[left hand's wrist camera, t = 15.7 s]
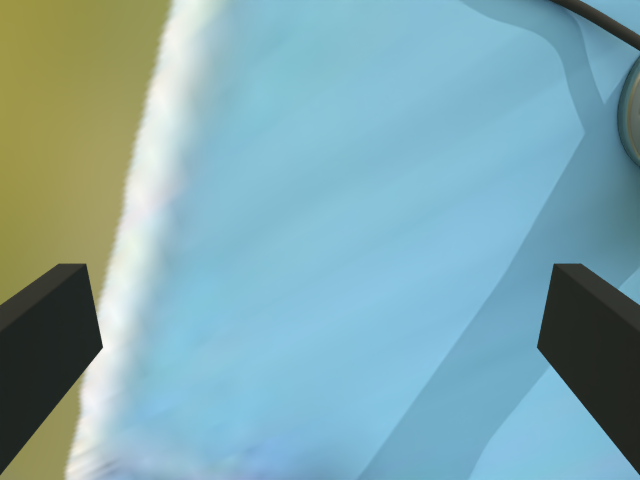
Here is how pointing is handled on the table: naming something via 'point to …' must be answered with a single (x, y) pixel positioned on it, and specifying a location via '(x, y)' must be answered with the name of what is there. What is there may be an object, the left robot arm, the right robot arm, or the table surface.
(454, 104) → the table surface
